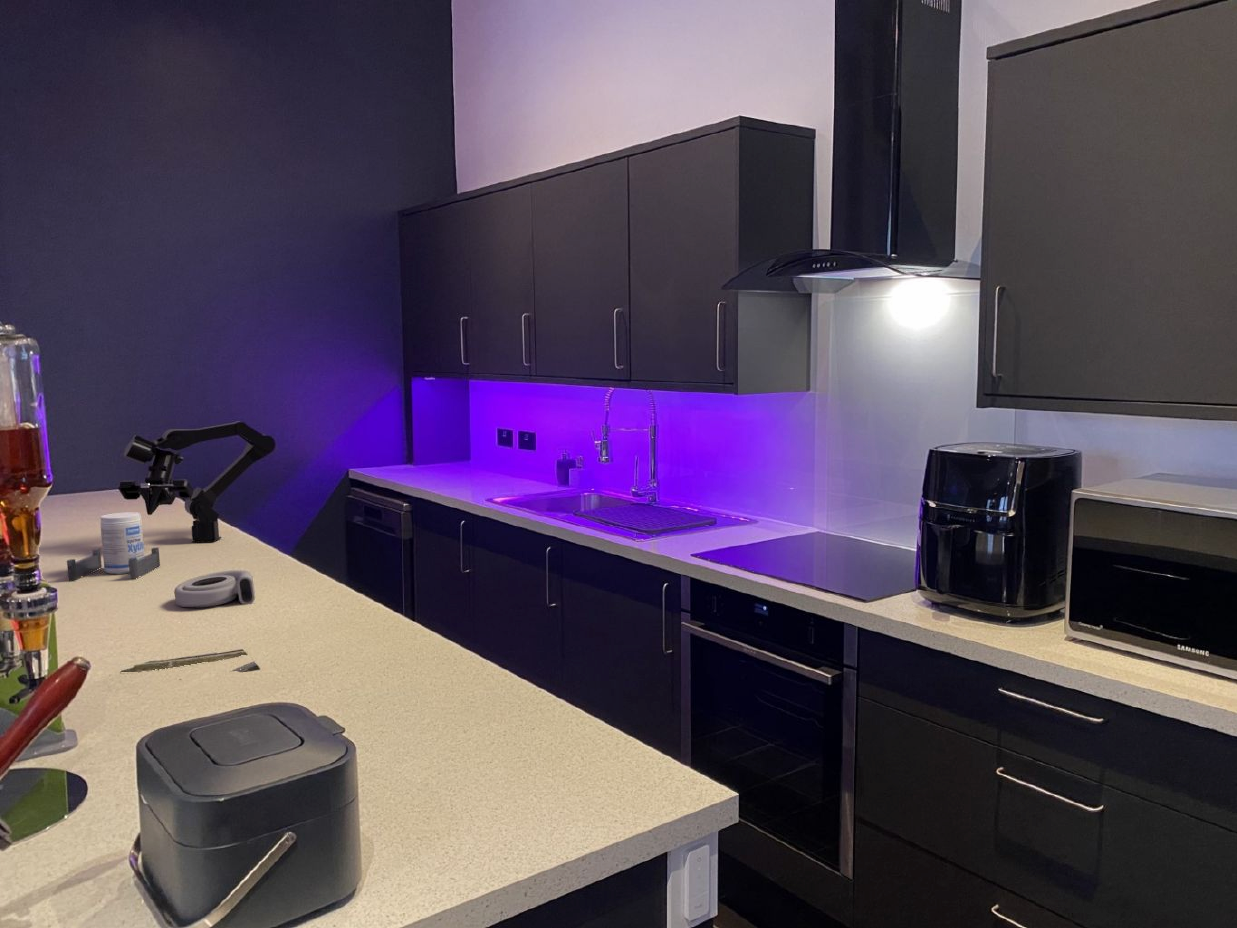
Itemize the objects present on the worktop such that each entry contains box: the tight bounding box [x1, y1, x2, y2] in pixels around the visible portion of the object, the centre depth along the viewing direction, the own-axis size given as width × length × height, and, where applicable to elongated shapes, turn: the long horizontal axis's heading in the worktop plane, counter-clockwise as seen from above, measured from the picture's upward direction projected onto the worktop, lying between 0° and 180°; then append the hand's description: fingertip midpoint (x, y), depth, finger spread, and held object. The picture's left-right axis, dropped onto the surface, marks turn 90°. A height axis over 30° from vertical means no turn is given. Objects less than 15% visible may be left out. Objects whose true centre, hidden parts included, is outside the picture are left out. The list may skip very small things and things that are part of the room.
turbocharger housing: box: [173, 569, 256, 609], centre depth 223 cm, size 17×6×15 cm
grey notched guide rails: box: [66, 547, 161, 582], centre depth 251 cm, size 16×14×5 cm
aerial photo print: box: [120, 648, 261, 681], centre depth 173 cm, size 25×19×2 cm
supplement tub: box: [100, 511, 145, 575], centre depth 254 cm, size 10×10×15 cm
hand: (149, 514), depth 272 cm, fingers closed
